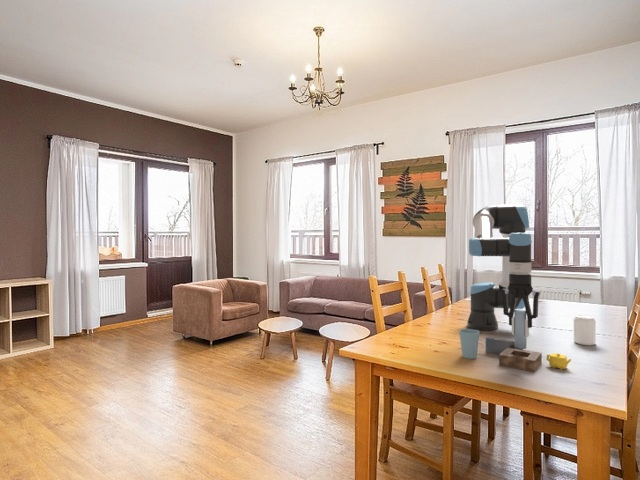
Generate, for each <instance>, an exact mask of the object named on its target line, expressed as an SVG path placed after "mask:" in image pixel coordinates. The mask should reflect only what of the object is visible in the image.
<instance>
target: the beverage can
mask: <svg viewBox="0 0 640 480" xmlns="http://www.w3.org/2000/svg"><path fill="white" fill-rule="evenodd" d="M596 322H597V321H596V319H595V317H594V316H592V315H585V314H576V315H574V318H573V342H575V343H576V344H578V345H581V346H594V345H596V337H597V336H596V333H597V332H596Z"/></svg>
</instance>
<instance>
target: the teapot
mask: <svg viewBox="0 0 640 480" xmlns="http://www.w3.org/2000/svg"><path fill="white" fill-rule="evenodd" d="M567 356H568V355H563V354H561V353H551V354H546V361H547V362H548V363H549V367H551V368H552V369H556V368H558V369H559V370H561V371H563V370H564V369H566V368H567V367H568V364H569V363H571V362H572V359H571V358H569V359H568V357H567Z"/></svg>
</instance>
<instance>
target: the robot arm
mask: <svg viewBox="0 0 640 480" xmlns="http://www.w3.org/2000/svg"><path fill="white" fill-rule="evenodd" d="M528 214H529V213H528V208H527V207H526V205H524V204H516V203H514V204H499V205H498V204H497V205H493V204H492V205H489V206H485V207H482V208H481V209H479V210H478V211H477V212H476V213H475V214H474V216H473V218H472V227H473V228H474V236H473V237H471V238H469V239H468V253H469V255H470V256H471V257H472V256H473V257H502V263H501V264H502V267H501V268H502V271H501V273H502V274H501V275H502V276H501V277H502V279H501V280H499V282H498V285H495V283H494V282H489V281H488V282H487V281H486V282H479V283H474V284H471V286H470V293H469V294H470V312H469V316H468V319H467V321H466V323H467V324H466V325H467V327H468V328H469V329H473V330H477V331H495V330H498V329H499V323H498V320H497V317H496V314H495V309H503V315H504V316H507V317H508V325H509V326H510V327H511V335H512V336H515V327H514V310H526V319H525V337H526V338H528V337H529V336H530V329H531V328H532V327H533V319H536V318H538V317H539V316H538V315H539V298H540V295H541V291H537V290H535V289H534V288H533V285H532V275H531V273H532V243H533V242H532V241H533V240H532V236H531V233H529V232H526V230H527V229H530V221H529V215H528ZM493 230H499V231H498V232H499V234H500V235H502V237H493V236H494V233H493ZM531 294H532V297H533V301H532V302H533V304H532V305H533V306H532V309H531V304H530V301H529V300H530V298H529V296H530V295H531Z"/></svg>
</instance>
